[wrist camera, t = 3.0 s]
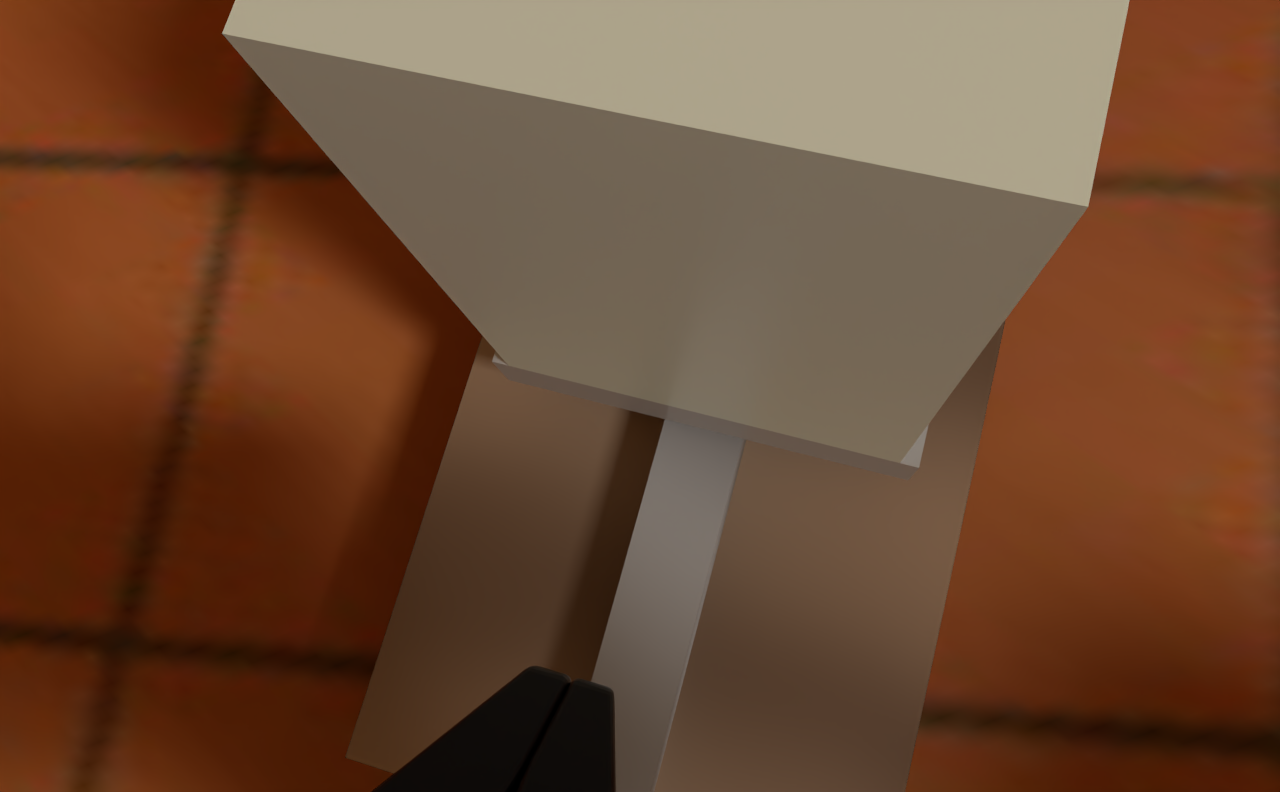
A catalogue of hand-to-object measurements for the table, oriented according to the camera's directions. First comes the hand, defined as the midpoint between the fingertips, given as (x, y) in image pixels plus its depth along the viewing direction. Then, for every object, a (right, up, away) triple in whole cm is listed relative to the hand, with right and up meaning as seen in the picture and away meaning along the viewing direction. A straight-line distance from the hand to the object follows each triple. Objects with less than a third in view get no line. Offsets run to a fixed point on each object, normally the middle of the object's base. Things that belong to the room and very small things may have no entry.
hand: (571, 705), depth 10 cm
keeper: (+2, +4, +6) cm, 7 cm away
